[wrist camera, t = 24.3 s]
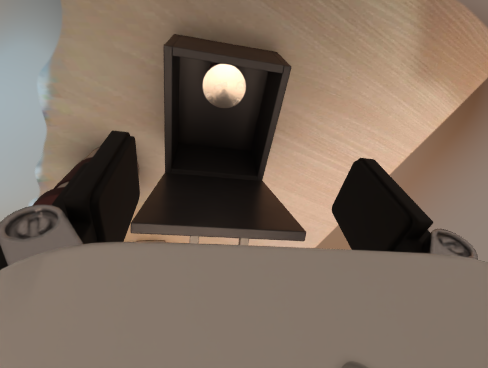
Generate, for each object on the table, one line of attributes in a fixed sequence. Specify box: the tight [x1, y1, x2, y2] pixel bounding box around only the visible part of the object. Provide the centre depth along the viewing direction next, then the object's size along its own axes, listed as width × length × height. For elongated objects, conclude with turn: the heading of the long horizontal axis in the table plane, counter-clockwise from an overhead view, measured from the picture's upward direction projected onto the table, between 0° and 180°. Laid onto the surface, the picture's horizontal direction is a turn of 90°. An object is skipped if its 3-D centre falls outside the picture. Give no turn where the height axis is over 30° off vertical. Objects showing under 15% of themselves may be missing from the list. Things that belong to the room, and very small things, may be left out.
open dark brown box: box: [164, 34, 291, 181], centre depth 32 cm, size 15×13×8 cm
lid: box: [131, 173, 306, 246], centre depth 26 cm, size 15×13×5 cm
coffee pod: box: [202, 62, 246, 108], centre depth 31 cm, size 5×5×4 cm
